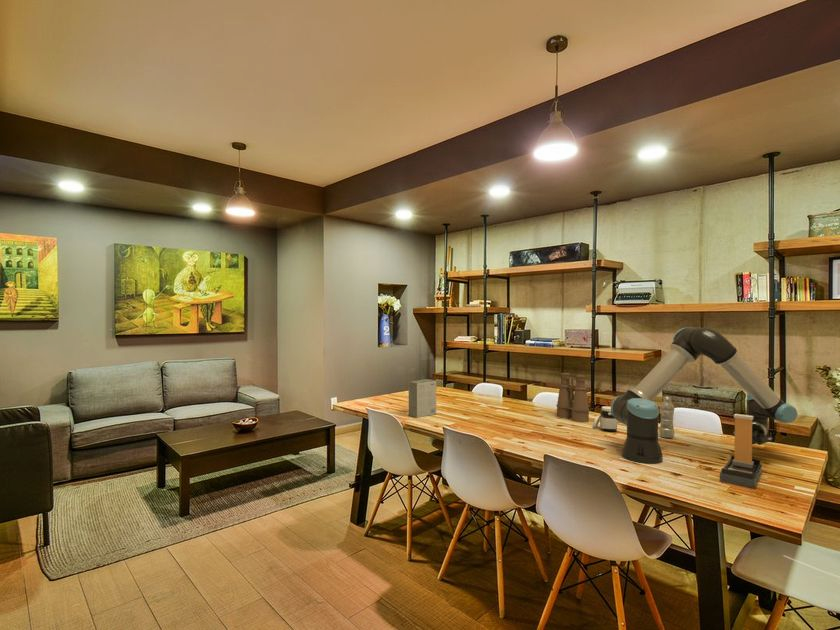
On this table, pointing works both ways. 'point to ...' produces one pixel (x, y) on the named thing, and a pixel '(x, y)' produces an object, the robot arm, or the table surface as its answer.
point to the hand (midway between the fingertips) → (746, 443)
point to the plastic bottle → (666, 418)
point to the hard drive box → (422, 398)
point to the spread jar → (606, 420)
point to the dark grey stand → (741, 474)
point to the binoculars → (573, 399)
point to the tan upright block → (743, 441)
